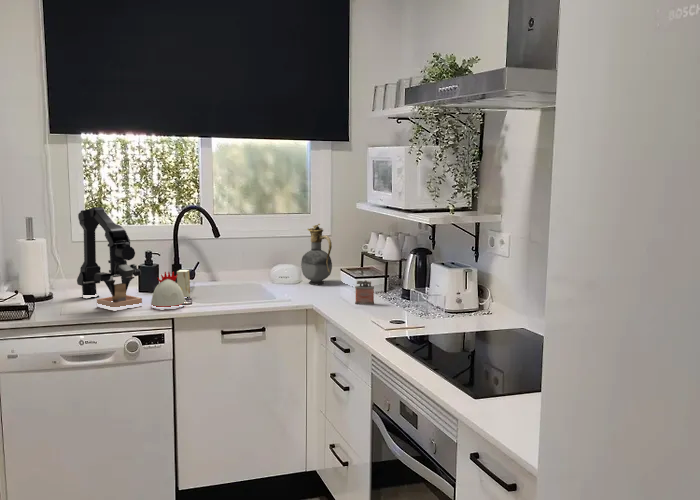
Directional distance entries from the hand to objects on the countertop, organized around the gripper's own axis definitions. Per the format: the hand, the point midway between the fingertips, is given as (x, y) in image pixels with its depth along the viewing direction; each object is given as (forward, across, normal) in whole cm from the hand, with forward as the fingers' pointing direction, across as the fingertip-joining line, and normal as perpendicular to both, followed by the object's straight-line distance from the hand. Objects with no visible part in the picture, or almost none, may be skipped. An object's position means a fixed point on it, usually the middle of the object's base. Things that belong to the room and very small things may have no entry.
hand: (119, 294), depth 280 cm
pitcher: (+5, +90, -32) cm, 96 cm away
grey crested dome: (+6, +13, -16) cm, 21 cm away
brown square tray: (+5, 0, 0) cm, 5 cm away
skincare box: (+5, +29, -6) cm, 30 cm away
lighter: (+5, +67, -78) cm, 103 cm away
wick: (+2, 0, 0) cm, 2 cm away
